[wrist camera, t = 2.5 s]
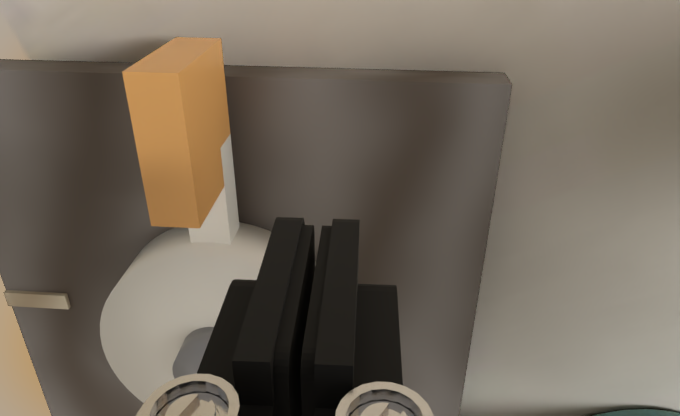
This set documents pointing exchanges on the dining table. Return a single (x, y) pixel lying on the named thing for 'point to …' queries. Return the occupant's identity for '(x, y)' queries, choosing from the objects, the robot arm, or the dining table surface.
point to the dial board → (251, 202)
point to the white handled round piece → (179, 218)
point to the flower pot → (640, 413)
